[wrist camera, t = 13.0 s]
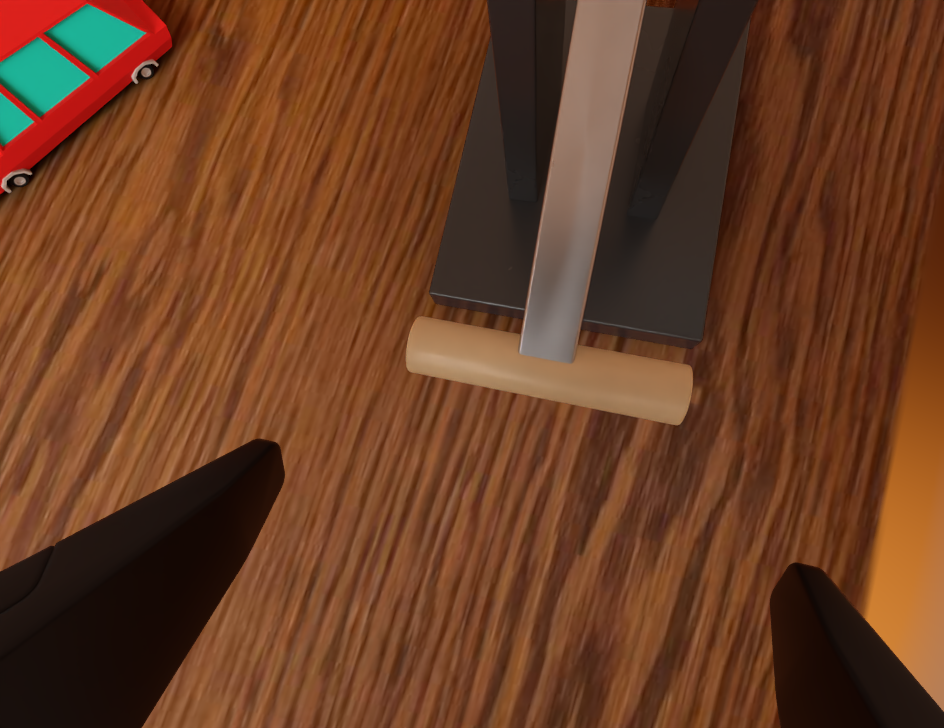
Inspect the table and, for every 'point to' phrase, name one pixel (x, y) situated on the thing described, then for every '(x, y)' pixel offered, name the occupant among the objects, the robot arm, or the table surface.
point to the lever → (568, 254)
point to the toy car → (66, 70)
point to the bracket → (633, 177)
